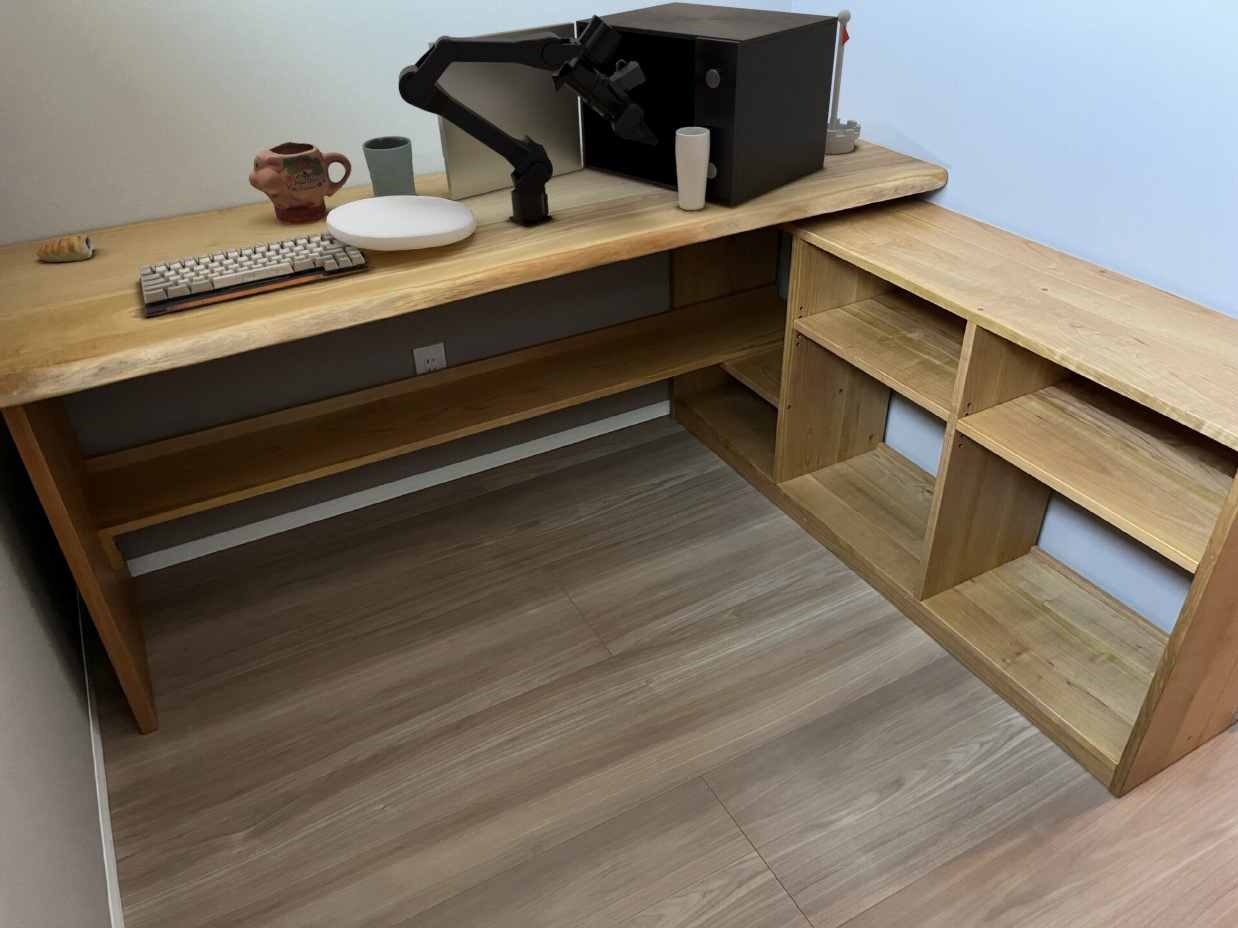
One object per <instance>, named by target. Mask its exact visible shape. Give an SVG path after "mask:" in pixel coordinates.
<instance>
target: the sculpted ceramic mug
mask: <svg viewBox="0 0 1238 928" xmlns="http://www.w3.org/2000/svg"><path fill="white" fill-rule="evenodd" d="M334 163H338V164H340V165H341V166H342V167H343V168H344V172H345V173H344V175H343V176H342V178H341V179H340V180H339V181H337V182H336V181H335V182H334V181H332V180H331V178H330V173H329V168H330V166H331V165H332V164H334ZM351 173H352V164H351V161H350V160H349V158H348V157H347V156H346V155H344V154H342V153H340V152H335V151H330V152H321V151H320V149H319V148H318V146H317V145H315V144H312V143H306V142H294V141H293V142H292V141H287V142H284V143H280V144H277V145H274V146H272V147H270V148H267V149H265V150H261V151H259V152H258V153H257V154H256V155H255V157H254V160H253V169H252V171H251V172H250V173H249V175H248V181H249V184H250V186H252V187H253V189H256V190H258V191H260V192H261V193H264V195H266V196H267V197H268V199H269V200H270V201H271V202H272V204H273V206H274V207H273V209H274V213H275V216H276V218H277V220H279V221H280V222H283V223H286V224H289V225H290V224H291V225H294V224H295V225H297V224H298V225H299V224H308V223H314V222H317V221H320V220H322V219H323V218H324V217H325V215H326V212H327V206H326V202H325V201H326V200H325V197H329V198H331V197H333V196H334V195H335V194H336V193H337V192H338V191H340V190H341V189H342V188H343V186H344V185H346V183H347V181H348V179H349V178H350V176H351Z"/></svg>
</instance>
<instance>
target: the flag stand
mask: <svg viewBox="0 0 1238 928" xmlns="http://www.w3.org/2000/svg"><path fill="white" fill-rule="evenodd" d="M837 17H838V24H839V29H838V39H837V49H836V60H835V71H834V79H833V88H832V89H833V90H832V100H831V107H830V108H831V109H830V117H829V121H828V127H827V137H826V147H825V155H826V154H828V155H838V154H840V155H841V154H846V153H850V152H852V151H854V149H855V141H856V140H857V139H858V138H860V136H861V129H862V124H858V121H856V120H854V119H848V120H847V121H846V123H841V119H842V118H841V117H838V112H839V102H840V94H841V93H840V92H841V83H842V74H843V65H844V54H845V45H846V43H848V41H849V40H850V36H849V33H848V30H847V28H848V27H847V26H848V23H849V22H850V20H851V19H852V13H851V12H850V10H848V9H841V10H840V11H839V12H838V14H837Z"/></svg>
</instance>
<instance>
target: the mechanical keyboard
mask: <svg viewBox="0 0 1238 928" xmlns="http://www.w3.org/2000/svg"><path fill="white" fill-rule="evenodd" d="M239 248H240V250H239V251H238V250H237V248H236V247H232V248H226V249H225V253H224V252H223V251H222V249H221V250H217V251H216V250H215V251H212V252H211V256H210V255H209V253H208V252H205V253H200V254H197V259H196V257H194V255H190V256H184V257H183V263H182V261H181V260H180V258H174V259H169V260H168V265H169V266H168V265H167V263H166V261H164V260H163V261H158V262H154V268H153V267H152V265H151V264H150V263H146V264H141V265H139V267H138V268H139V275H140V278H139V287H140V292H141V297H142V302H143V307H144V314H145V318H151V317H155V316H160V315H164V314H168V313H174V312H175V313H176V312H178V311H179V312H181V311H184V310H187V309H193V308H196V307H201V306H206V305H211V304H215V303H220V302H224V301H230V300H233V299H238V298H242V297H246V296H251V295H257V294H261V293H265V292H270V291H273V290H278V289H282V288H287V287H291V286H295V285H300V284H303V283H309V282H313V281H317V280H323V279H328V278H333V277H338V276H343V275H348V274H352V273H353V274H354V273H358V272H362V271H370V266H369V265H368V263H367V261H366V260H365V258H366V257H367V255H366V254H365V252H364V251H363V250H359V249H358V247H354V246H351V245H348V244H346V243H343V242H341V241H340V240H338V239H336V238H335V237H334V236H333V235H332V234H331V233H330V232H329V230H328V229H327V230H324V231H323V230H322V231H320V234H318V233H317V232H313V233H307V237H305V235H304V234H301V235H295V236H294V239H292V238H291V237H286V238H285V237H284V238H281V239H280V241H278V240H277V239H274V240H268V241H267V246H266V245H265V243H264V242H258V243H254V245H253V248H252V247H251V245H250V244H247V245H241V246H240V247H239ZM211 257H212V258H211Z"/></svg>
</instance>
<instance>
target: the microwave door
mask: <svg viewBox="0 0 1238 928" xmlns="http://www.w3.org/2000/svg"><path fill="white" fill-rule="evenodd" d="M575 31H576V28H575V22H572V21H567V22H561V23H555V24H554V23H553V24H547V25H540V26H534V27H527V28H520V29H513V30H506V31H497V32H492V33H485V34H484V33H483V34H478V35H471V36H466V37H467V38H518V37H522V36H526V35H529V34H535V33H540V32H552V33H554V34H556V35H557V36H558V37H559V38H571V37H572V38H576V32H575ZM435 43H436V41H429V42H427V44H428V50H429V49H430V48H431V47H432V46H433V45H434V44H435ZM571 60H572V59H570V60H568V61H567V62H569V63H570V61H571ZM565 62H566V61H565ZM560 69H561V68H560ZM560 69H558V70H556V71H548V70H543V69H538V68H533V67H530V66H526V65H523V64H519V63H495V62H452V63H451V64H450V65H449V66H448V67H447V69H446V70H445V71H444V73H443V74H442V75H441V77H440V78H439V79H438V81H437V82H438V83H439V84H440V85H441V86H442V87H443V88H444V89H445V90H446V91H447V93H448V94H449V95H451V96H452V97H453V98H455V99H456V100H458V101H459V102H461V103H462V104H464V105H465V106H467V107H468V108H470V109H471V110H473V111H474V112H476V113H477V114H479V115H480V116H482V117H483V118H485V119H486V120H488V121H489V122H491V123H492V124H494V125H495V126H497V127H498V128H500V129H501V130H502V131H504V132H505V133H507V134H508V135H510V136H511V137H513V138H516V139H519V140H522V141H523V140H524V137H525V135H528V136H529V137H530V138H531V139H532V140H533V141H534V142H536V143H537V144H541V145H543V147H544V149H545V151H546V153H547V155H548V157H549V159H550V161H551V163H552V166H553V174H552V177H556V176H560V175H564V174H567V173H572V172H576V171H580V170H583V162H582V143H581V124H580V104H579V96H577V95H576V94H575V93H574V92H573V91H571V90H570V89H569V88H568V87H567V86H565V85H564V84H563V85H562V87H561V88H560V89H559V91H558V92H556V91H555V90H554V88H553V87H552V78H551V76H550V75H551V74H555V73H558V72H559V70H560ZM436 115H437V114H436ZM437 123H438V131H439V137H440V145H441V152H442V158H443V160H444V167H445V173H446V174H445V175H446V182H447V189H448V196H449V197H448V198H449V200H452V201H457V200H461V199H465V198H469V197H474V196H477V195H482V194H486V193H491V192H494V191H498V190H503V189H507V188H510V187H514V184H513V181H512V178H511V173H512V172H513V171H514V169H515V168H514V167H513V166H512V165H511V164H510V163H509V162H508V161H507V160H506V159H505V158H504V157H503V156H501V155H500V154H498V153H497V152H495V151H494V150H492V149H490V148H489V147H487V146H486V145H484V144H483V143H481V142H480V141H478V140H477V139H475V138H474V137H472V136H471V135H469V134H468V133H466V132H465V131H463V130H462V129H460V128H459V127H457V126H455V125H454V124H452V123H451V122H449V121H448V120H446V119H445V118H443V117H442V116H439V115H437Z"/></svg>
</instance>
